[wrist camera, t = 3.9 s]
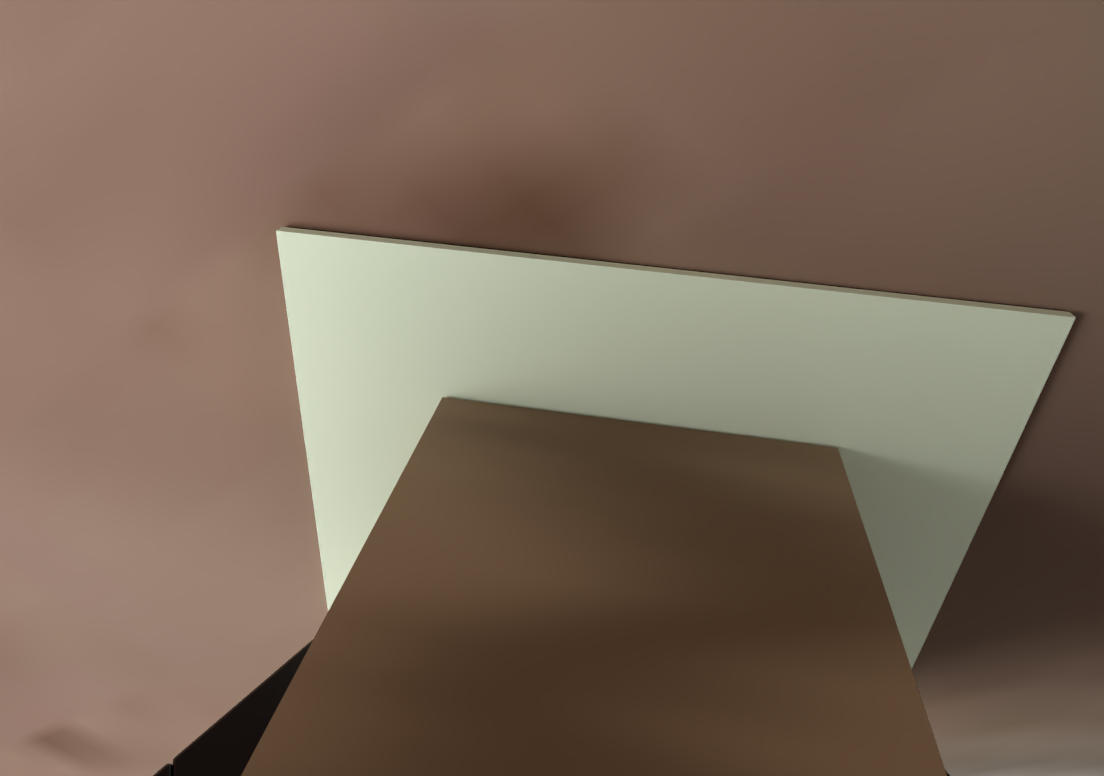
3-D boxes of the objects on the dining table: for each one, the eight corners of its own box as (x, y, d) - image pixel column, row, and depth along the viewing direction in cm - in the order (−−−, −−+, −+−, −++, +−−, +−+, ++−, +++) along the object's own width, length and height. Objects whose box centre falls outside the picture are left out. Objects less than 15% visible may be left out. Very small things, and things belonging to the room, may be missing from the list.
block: (837, 448, 9) (1050, 1087, 4) (756, 705, 12) (820, 1299, 6) (442, 396, 10) (170, 908, 4) (447, 656, 12) (278, 1171, 7)
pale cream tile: (1069, 311, 8) (1076, 318, 8) (850, 790, 13) (851, 799, 12) (281, 226, 9) (274, 230, 9) (345, 703, 13) (341, 712, 13)
